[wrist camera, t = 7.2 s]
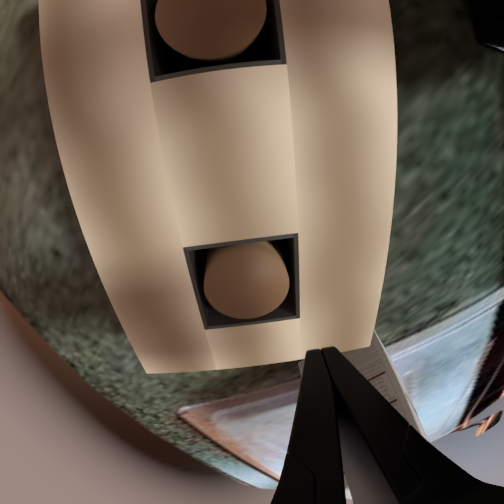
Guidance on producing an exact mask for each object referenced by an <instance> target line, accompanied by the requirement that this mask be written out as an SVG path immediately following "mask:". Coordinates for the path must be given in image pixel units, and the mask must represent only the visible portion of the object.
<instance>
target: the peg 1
mask: <svg viewBox="0 0 504 504" xmlns="http://www.w3.org/2000/svg"><path fill="white" fill-rule="evenodd" d="M266 11H267V8H266V0H158V2H157V5H156V10H155V21H156V26H157V29H158V31H159V33H160V35H161V37H162V38H163V39H164V41H165V42H166V43H167V44H168V45H169V46H170V47H172V48H173V49H175V50H176V51H178V52H179V53H181V54H182V55H184V56H186V57H187V58H189V59H190V60H192V61H194V62H196V63H199V64H202V65H207V66H217V65H225V64H228V63H231V62H233V61H235V60H237V59H239V58H240V57H242V56H243V55H244V54H245V53H246V52H247V51H248V50H249V48H250V47H251V45H252V44H253V42H254V40H255V39H256V37H257V35H258V34H259V32H260V30H261V29H262V26H263V24H264V22H265V18H266Z"/></svg>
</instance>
